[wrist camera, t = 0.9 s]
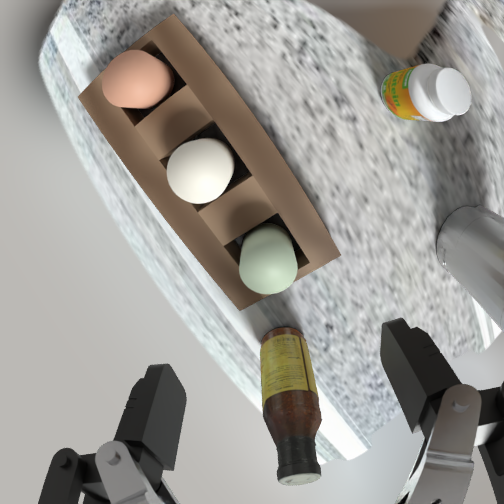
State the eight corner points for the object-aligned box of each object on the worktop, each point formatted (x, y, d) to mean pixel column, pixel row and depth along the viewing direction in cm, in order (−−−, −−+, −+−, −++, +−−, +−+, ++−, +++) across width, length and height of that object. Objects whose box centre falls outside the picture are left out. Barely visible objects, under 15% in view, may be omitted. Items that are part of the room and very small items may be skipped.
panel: (184, 26, 21) (173, 13, 18) (332, 239, 31) (341, 255, 27) (97, 98, 24) (77, 96, 21) (241, 290, 34) (239, 310, 30)
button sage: (274, 213, 27) (278, 231, 23) (300, 253, 29) (307, 277, 25) (232, 240, 29) (227, 262, 24) (259, 276, 30) (259, 303, 26)
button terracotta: (156, 50, 21) (137, 38, 16) (184, 86, 22) (168, 79, 18) (117, 83, 22) (92, 79, 18) (143, 119, 24) (121, 119, 19)
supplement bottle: (377, 68, 23) (425, 51, 14) (420, 76, 22) (475, 68, 13) (380, 116, 25) (429, 117, 16) (422, 122, 25) (478, 129, 16)
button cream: (214, 127, 24) (205, 127, 20) (245, 170, 26) (242, 180, 21) (172, 158, 25) (154, 166, 21) (202, 199, 27) (191, 215, 23)
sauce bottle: (250, 345, 38) (245, 482, 20) (280, 316, 35) (291, 465, 17) (287, 364, 39) (297, 491, 21) (317, 338, 37) (344, 473, 19)
